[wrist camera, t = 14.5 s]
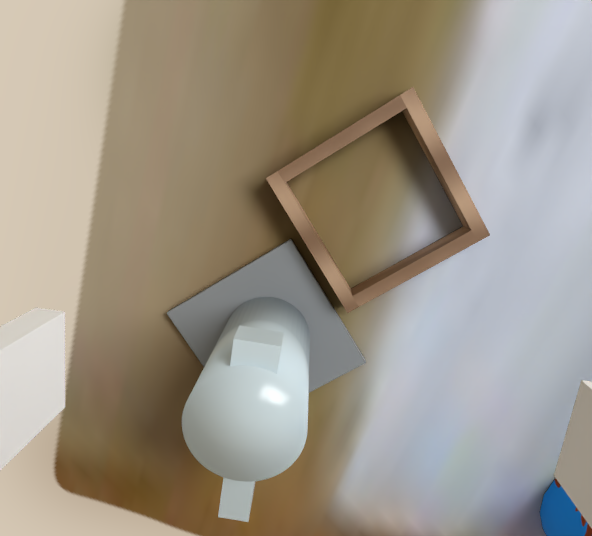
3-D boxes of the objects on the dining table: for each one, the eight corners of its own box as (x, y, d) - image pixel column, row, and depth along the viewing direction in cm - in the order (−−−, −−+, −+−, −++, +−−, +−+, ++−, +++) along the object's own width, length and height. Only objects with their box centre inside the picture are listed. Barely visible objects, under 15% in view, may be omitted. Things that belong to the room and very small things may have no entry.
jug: (232, 273, 37) (190, 335, 25) (319, 287, 37) (321, 357, 25) (214, 420, 41) (168, 542, 28) (293, 433, 41) (283, 560, 28)
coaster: (365, 359, 39) (366, 362, 39) (245, 422, 41) (244, 426, 41) (291, 238, 37) (290, 239, 36) (168, 310, 39) (166, 313, 38)
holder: (480, 230, 36) (490, 235, 34) (346, 305, 38) (347, 313, 36) (407, 90, 34) (413, 86, 32) (268, 177, 36) (265, 178, 34)
